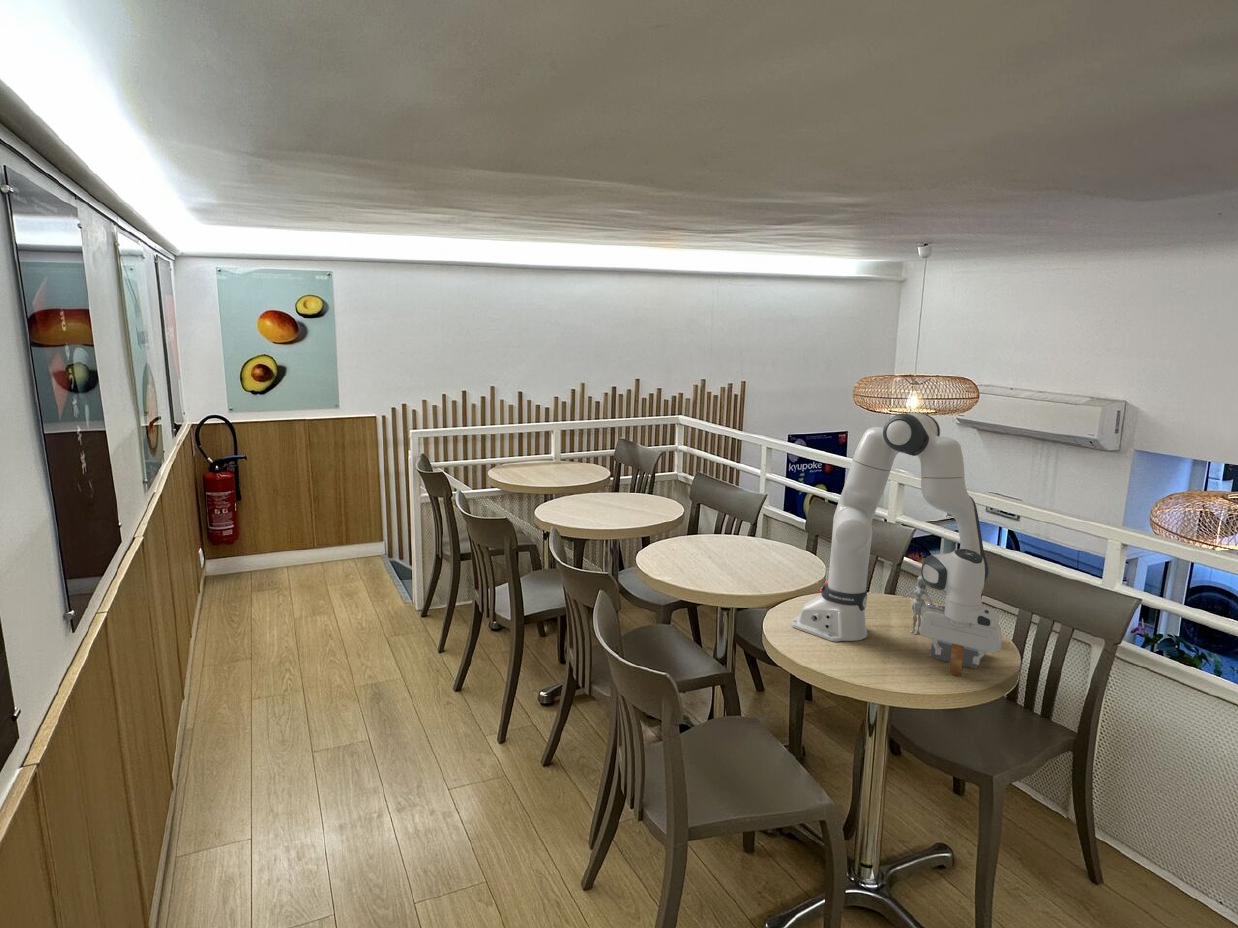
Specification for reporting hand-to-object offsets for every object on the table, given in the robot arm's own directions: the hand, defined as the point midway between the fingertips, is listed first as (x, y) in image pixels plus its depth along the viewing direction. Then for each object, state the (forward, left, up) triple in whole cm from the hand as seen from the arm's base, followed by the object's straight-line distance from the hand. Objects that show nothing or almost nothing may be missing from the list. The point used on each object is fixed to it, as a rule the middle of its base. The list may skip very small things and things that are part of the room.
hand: (956, 659), depth 205 cm
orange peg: (0, 0, -4) cm, 4 cm away
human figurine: (-16, +23, -4) cm, 28 cm away
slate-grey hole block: (-2, +13, -4) cm, 14 cm away
